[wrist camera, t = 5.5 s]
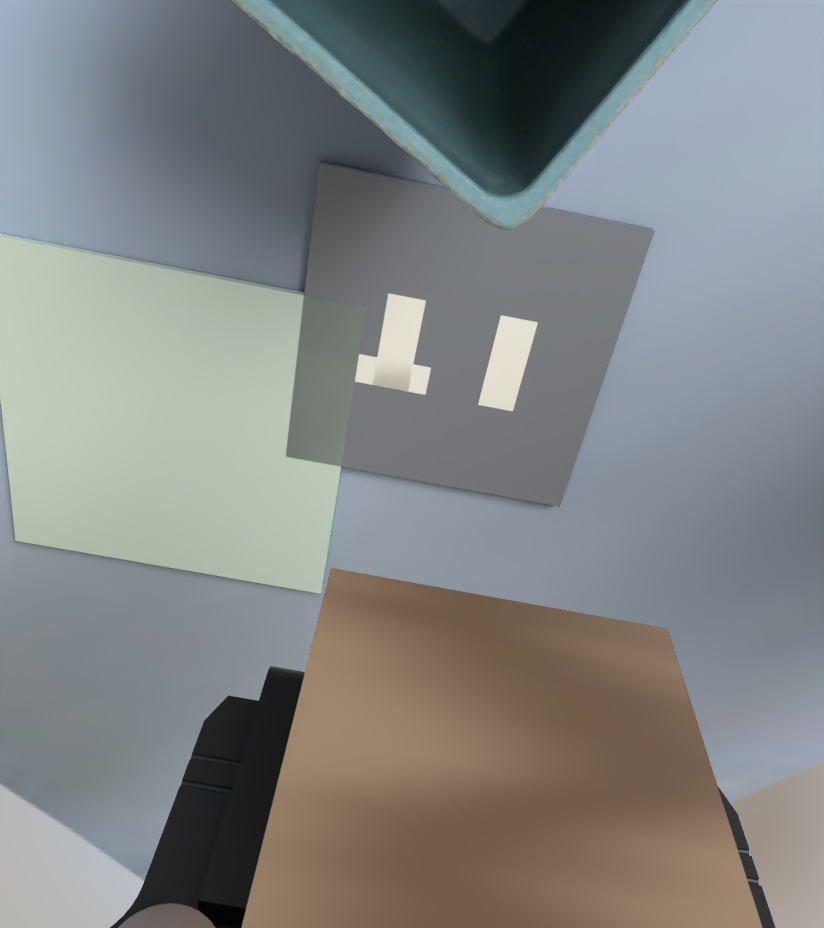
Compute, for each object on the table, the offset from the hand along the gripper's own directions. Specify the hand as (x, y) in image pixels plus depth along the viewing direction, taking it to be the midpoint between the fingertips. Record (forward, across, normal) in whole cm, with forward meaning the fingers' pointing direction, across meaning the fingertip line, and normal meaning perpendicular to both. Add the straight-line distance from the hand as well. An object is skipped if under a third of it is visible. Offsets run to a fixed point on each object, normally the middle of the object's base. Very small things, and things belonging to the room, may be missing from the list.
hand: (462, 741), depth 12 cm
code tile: (+15, 0, 0) cm, 15 cm away
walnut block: (0, 0, 0) cm, 0 cm away
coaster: (+15, +10, +5) cm, 19 cm away
